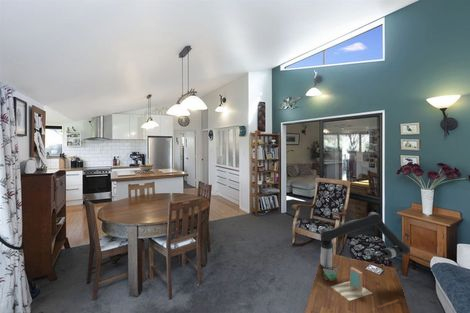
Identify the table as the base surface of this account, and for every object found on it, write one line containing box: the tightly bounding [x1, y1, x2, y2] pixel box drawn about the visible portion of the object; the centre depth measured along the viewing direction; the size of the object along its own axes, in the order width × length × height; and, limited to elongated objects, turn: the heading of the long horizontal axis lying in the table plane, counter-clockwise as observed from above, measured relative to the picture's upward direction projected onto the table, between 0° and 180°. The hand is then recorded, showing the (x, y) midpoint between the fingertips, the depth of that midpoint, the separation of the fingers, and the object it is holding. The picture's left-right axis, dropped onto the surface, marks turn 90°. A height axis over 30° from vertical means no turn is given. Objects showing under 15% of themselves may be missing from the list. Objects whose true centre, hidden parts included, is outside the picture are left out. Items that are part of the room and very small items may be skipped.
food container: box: [322, 265, 339, 282], centre depth 193 cm, size 12×6×10 cm, turn 101°
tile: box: [349, 266, 364, 292], centre depth 181 cm, size 9×3×14 cm, turn 21°
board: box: [330, 280, 373, 302], centre depth 180 cm, size 18×22×1 cm
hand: (371, 257), depth 186 cm, fingers closed
